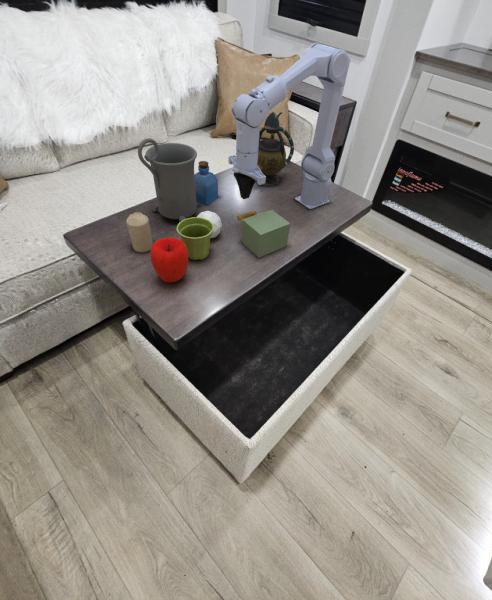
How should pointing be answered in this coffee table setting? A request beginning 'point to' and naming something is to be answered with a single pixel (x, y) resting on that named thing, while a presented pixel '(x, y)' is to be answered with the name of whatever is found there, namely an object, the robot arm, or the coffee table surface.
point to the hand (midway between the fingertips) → (245, 197)
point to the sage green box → (265, 233)
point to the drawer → (246, 216)
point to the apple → (169, 258)
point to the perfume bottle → (205, 184)
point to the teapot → (273, 150)
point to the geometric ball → (214, 219)
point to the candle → (139, 232)
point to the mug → (172, 177)
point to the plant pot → (196, 236)
